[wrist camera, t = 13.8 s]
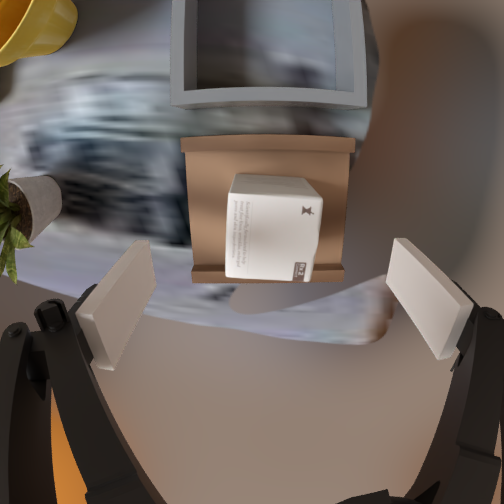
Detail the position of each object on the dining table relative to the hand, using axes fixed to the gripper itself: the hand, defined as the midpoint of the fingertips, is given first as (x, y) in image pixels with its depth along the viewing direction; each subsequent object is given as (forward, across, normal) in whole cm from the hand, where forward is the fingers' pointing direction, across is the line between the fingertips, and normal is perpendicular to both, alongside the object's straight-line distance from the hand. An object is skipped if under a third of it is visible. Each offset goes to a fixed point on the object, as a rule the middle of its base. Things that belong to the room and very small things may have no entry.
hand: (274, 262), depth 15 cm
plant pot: (+13, -22, +21) cm, 33 cm away
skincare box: (+12, 0, 0) cm, 12 cm away
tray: (+12, 0, 0) cm, 12 cm away
